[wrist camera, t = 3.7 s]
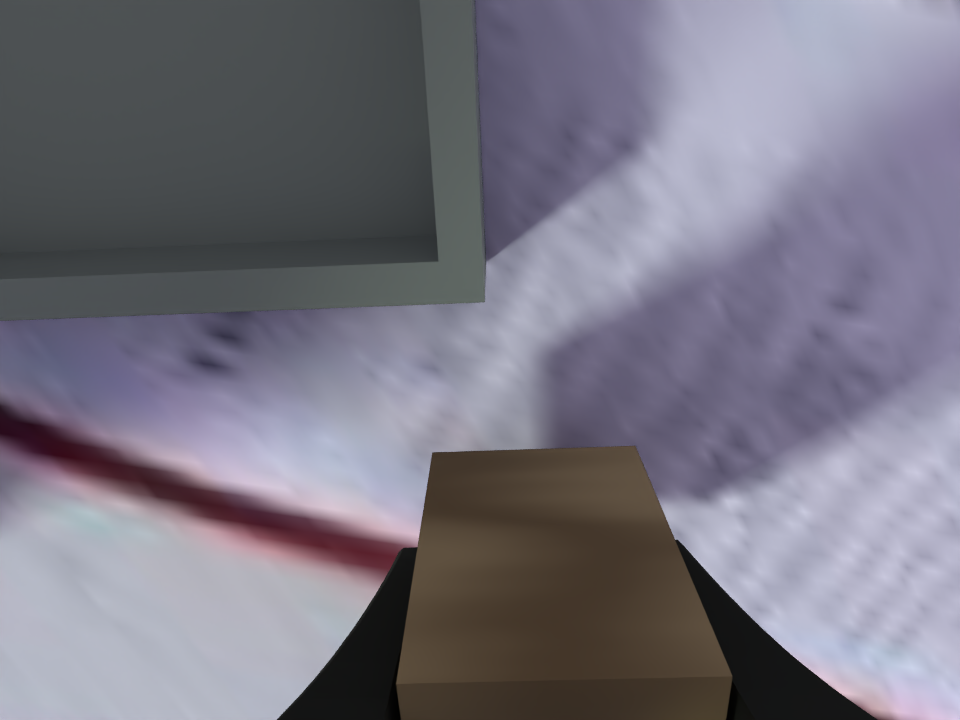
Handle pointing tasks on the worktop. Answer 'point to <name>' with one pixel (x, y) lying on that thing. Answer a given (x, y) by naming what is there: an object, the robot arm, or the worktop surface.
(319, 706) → the robot arm
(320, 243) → the tray
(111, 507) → the worktop surface
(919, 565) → the worktop surface
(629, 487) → the walnut block
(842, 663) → the worktop surface
